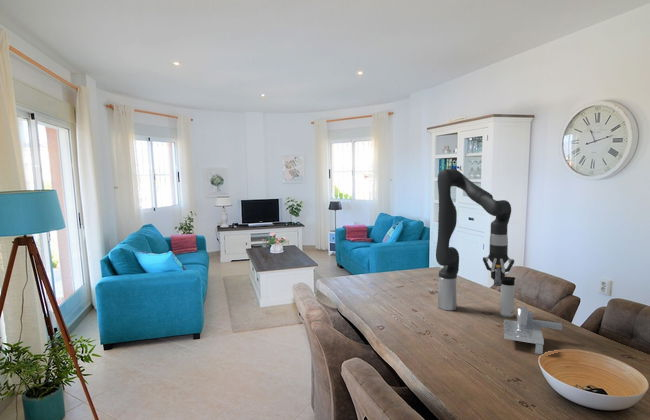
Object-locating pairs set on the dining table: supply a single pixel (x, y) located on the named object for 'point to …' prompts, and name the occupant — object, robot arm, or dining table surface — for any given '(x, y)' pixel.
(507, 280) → the travel mug
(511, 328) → the grey metal bracket
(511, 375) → the dining table surface
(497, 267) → the pin
